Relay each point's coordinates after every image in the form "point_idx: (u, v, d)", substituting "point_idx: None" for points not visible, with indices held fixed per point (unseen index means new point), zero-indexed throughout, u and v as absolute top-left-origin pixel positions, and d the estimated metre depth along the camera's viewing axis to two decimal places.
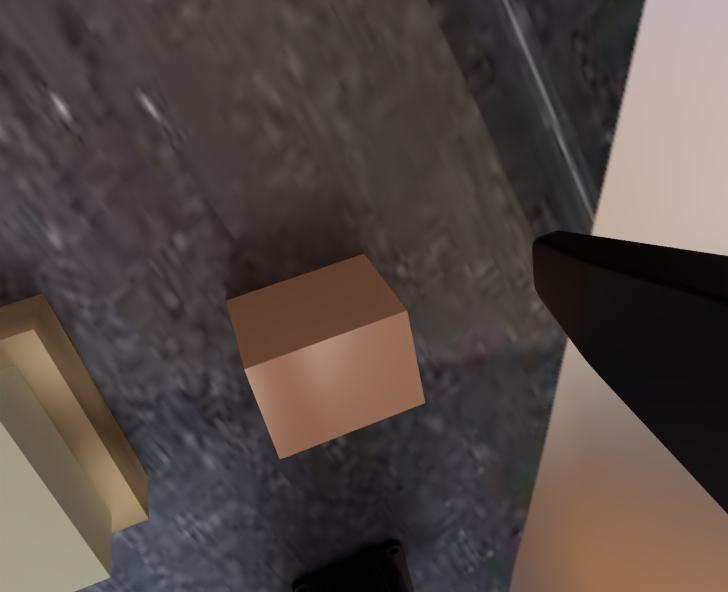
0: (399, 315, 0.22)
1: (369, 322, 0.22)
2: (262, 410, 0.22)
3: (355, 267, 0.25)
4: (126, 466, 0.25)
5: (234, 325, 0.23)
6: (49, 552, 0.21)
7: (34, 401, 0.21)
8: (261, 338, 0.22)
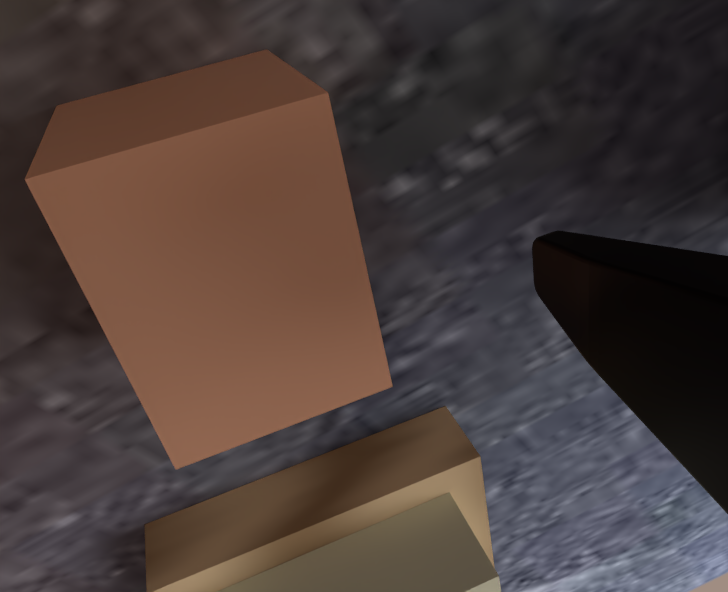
0: (41, 198, 0.09)
1: (70, 263, 0.09)
2: (272, 429, 0.12)
3: None
4: (397, 464, 0.19)
5: None
6: None
7: (242, 590, 0.17)
8: None
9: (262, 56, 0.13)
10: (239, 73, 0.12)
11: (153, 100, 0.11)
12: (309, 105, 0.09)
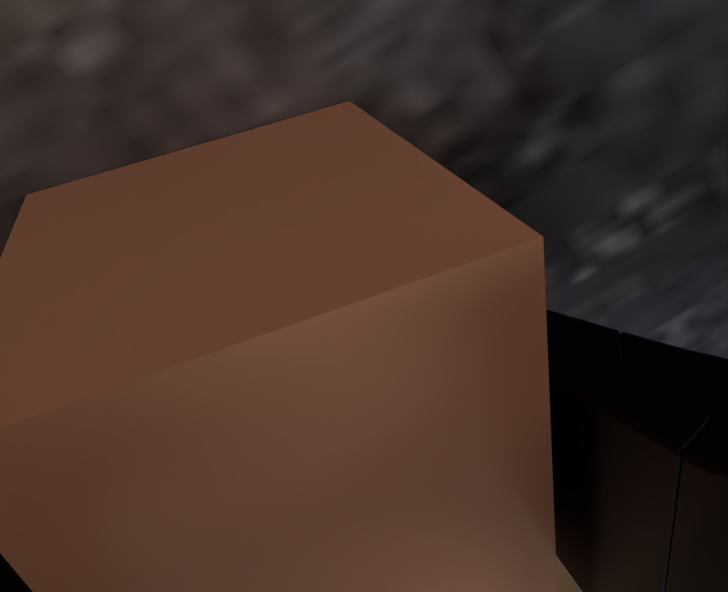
0: None
1: (27, 575, 0.05)
2: None
3: None
4: None
5: None
6: None
7: None
8: None
9: (349, 117, 0.08)
10: (323, 154, 0.07)
11: (183, 208, 0.07)
12: (504, 261, 0.05)
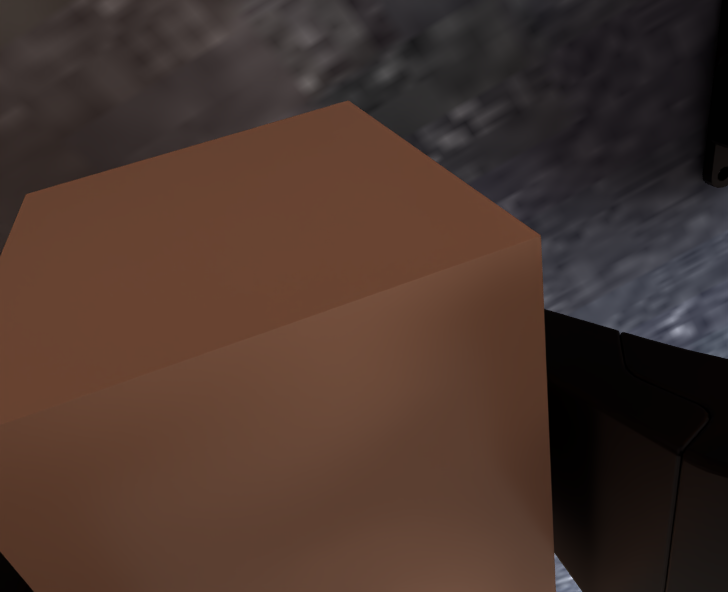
0: None
1: (26, 572, 0.05)
2: None
3: None
4: None
5: None
6: None
7: None
8: None
9: (349, 116, 0.08)
10: (322, 154, 0.07)
11: (182, 207, 0.07)
12: (502, 260, 0.05)
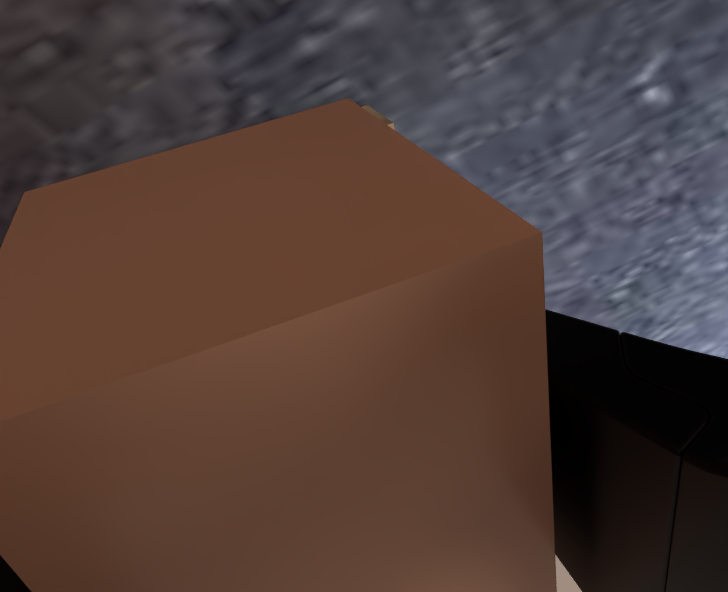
0: None
1: (24, 572, 0.05)
2: None
3: None
4: None
5: None
6: None
7: None
8: None
9: (348, 114, 0.08)
10: (322, 151, 0.07)
11: (181, 204, 0.07)
12: (503, 257, 0.05)
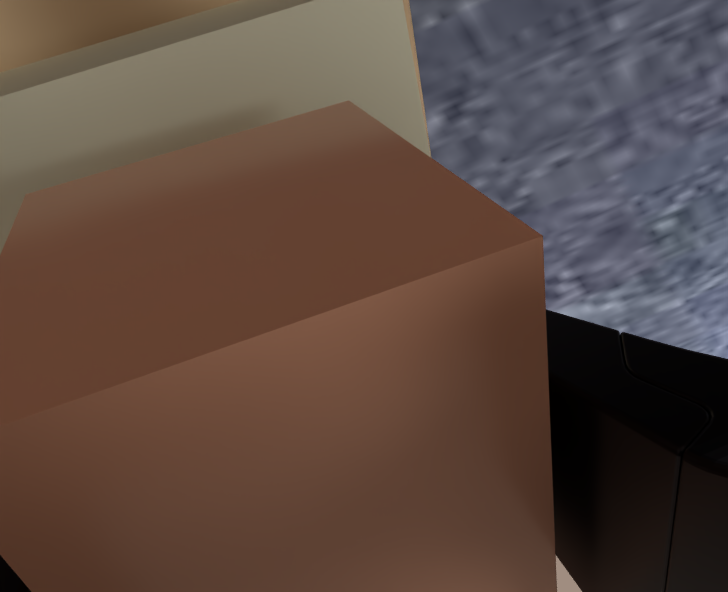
0: None
1: (25, 574, 0.05)
2: None
3: None
4: None
5: None
6: (283, 91, 0.10)
7: (7, 72, 0.11)
8: None
9: (349, 116, 0.08)
10: (323, 154, 0.07)
11: (182, 207, 0.07)
12: (503, 261, 0.05)
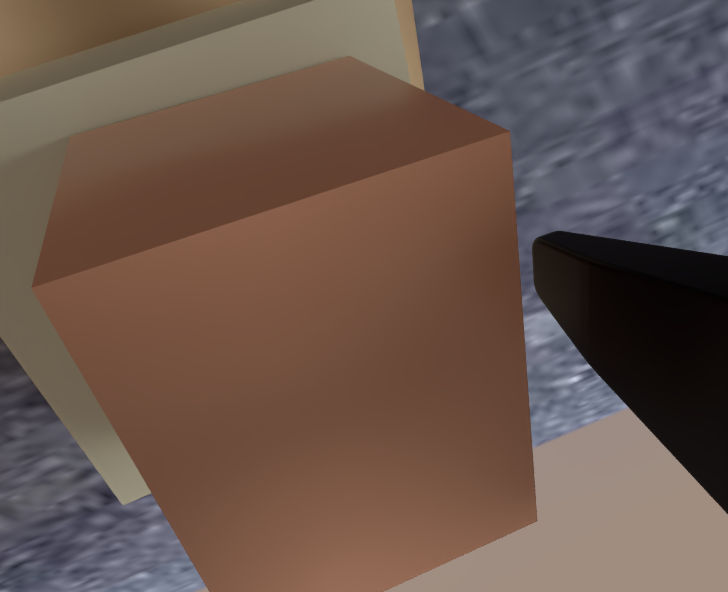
0: (58, 316, 0.05)
1: (102, 406, 0.06)
2: (378, 590, 0.09)
3: None
4: None
5: None
6: None
7: (0, 79, 0.11)
8: None
9: (350, 67, 0.09)
10: (329, 93, 0.08)
11: (212, 135, 0.08)
12: (479, 151, 0.06)
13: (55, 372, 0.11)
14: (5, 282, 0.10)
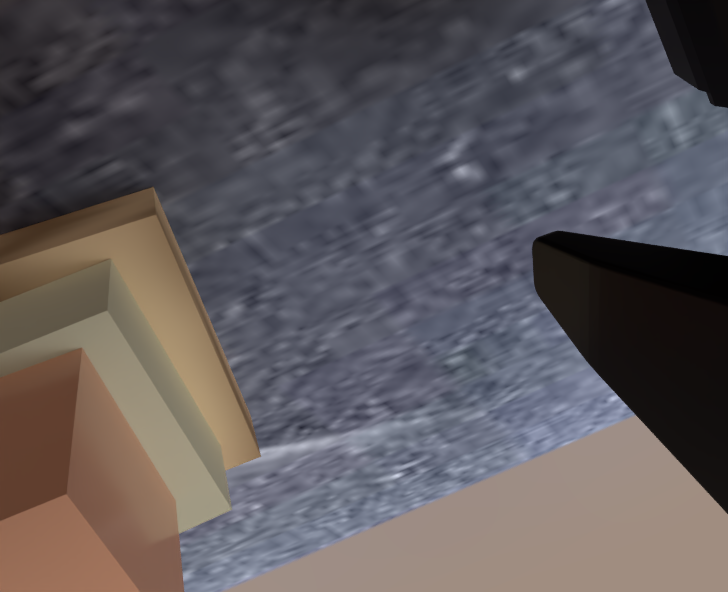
0: None
1: None
2: None
3: None
4: (75, 228, 0.18)
5: None
6: None
7: None
8: None
9: (71, 367, 0.15)
10: (37, 406, 0.14)
11: None
12: (51, 504, 0.11)
13: None
14: None
